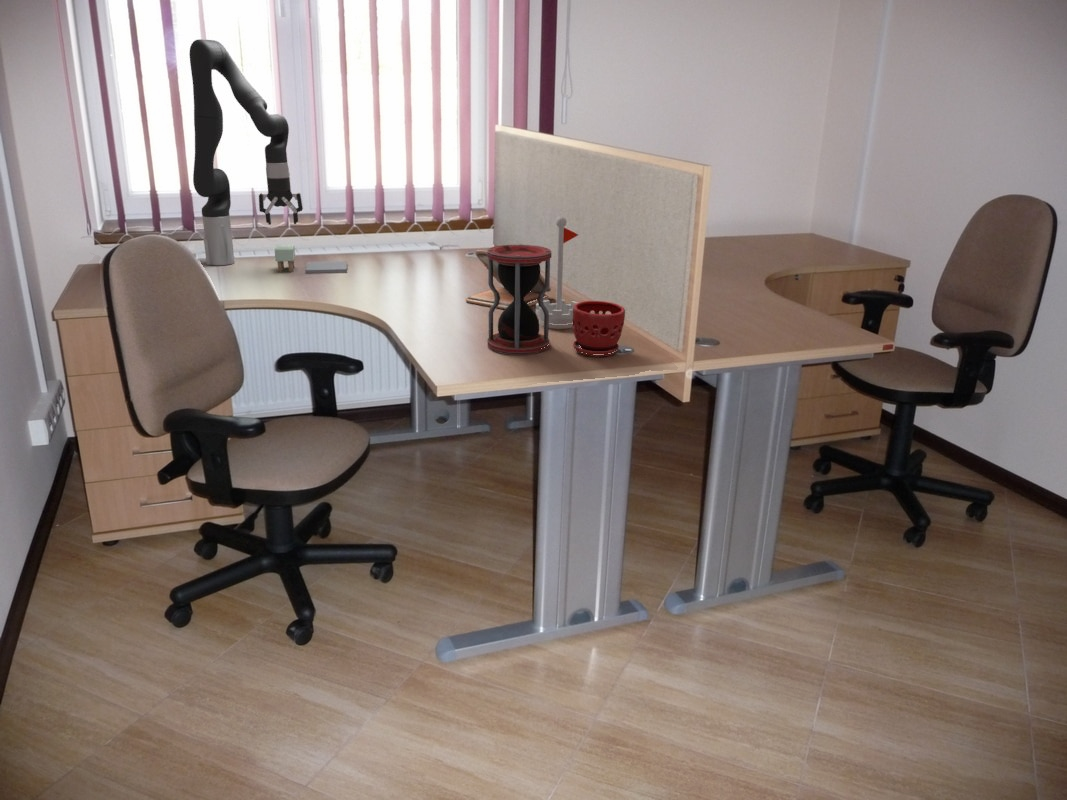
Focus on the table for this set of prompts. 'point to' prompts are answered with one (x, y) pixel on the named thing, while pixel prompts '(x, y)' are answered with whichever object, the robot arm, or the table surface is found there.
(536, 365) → the table surface
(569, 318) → the flag stand
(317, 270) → the mat
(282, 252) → the mint green toy brick
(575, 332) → the plant pot
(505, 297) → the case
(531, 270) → the hourglass
